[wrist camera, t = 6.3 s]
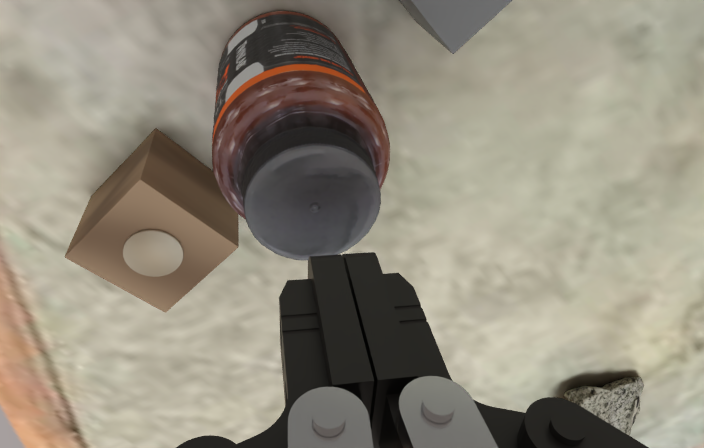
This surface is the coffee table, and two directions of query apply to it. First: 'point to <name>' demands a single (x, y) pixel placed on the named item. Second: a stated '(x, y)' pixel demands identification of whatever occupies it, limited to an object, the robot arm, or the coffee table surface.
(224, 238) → the walnut dotted block
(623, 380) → the rock sample
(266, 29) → the supplement bottle
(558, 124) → the coffee table surface
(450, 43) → the charcoal dotted block
